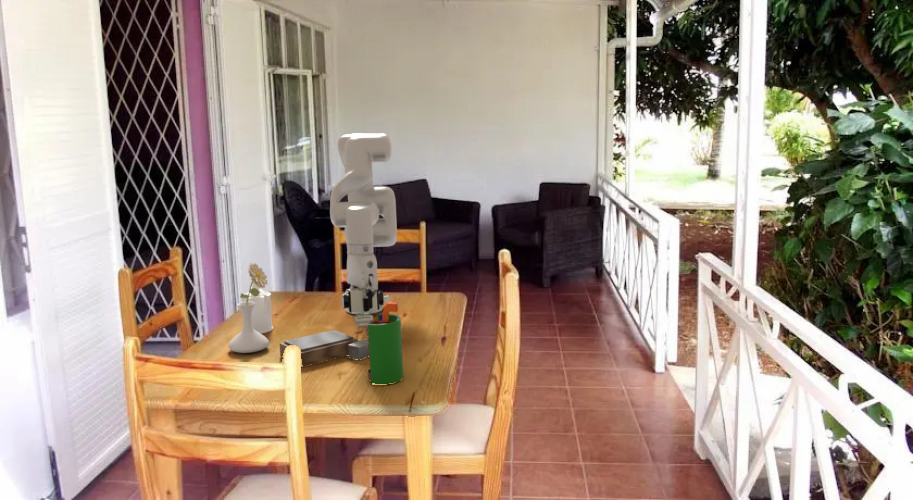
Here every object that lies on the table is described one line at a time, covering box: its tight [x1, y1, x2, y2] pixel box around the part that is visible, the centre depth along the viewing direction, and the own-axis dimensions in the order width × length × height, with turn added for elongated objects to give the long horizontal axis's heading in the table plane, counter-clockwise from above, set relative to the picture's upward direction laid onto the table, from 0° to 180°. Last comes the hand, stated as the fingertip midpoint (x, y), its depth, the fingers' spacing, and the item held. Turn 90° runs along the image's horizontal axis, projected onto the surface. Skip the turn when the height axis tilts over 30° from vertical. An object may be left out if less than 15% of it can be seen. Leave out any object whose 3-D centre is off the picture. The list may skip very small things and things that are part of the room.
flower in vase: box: [227, 262, 270, 354], centre depth 209 cm, size 13×11×25 cm
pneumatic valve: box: [341, 288, 385, 328], centre depth 216 cm, size 6×12×12 cm, turn 107°
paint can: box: [240, 282, 274, 335], centre depth 228 cm, size 10×9×20 cm
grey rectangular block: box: [348, 338, 369, 361], centre depth 203 cm, size 6×4×4 cm, turn 145°
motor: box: [366, 301, 404, 384], centre depth 185 cm, size 10×9×20 cm
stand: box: [279, 329, 359, 368], centre depth 205 cm, size 18×12×5 cm, turn 130°
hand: (362, 307), depth 216 cm, fingers closed on pneumatic valve, 5 cm apart
